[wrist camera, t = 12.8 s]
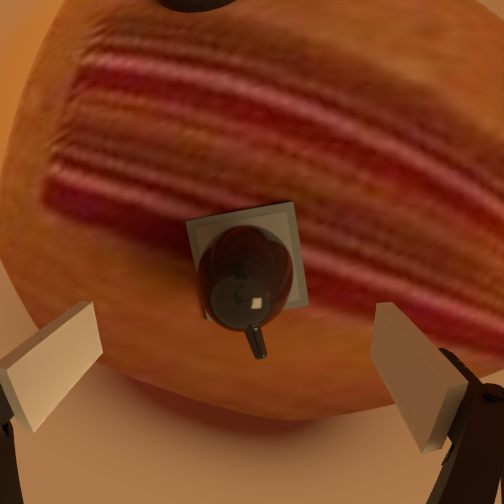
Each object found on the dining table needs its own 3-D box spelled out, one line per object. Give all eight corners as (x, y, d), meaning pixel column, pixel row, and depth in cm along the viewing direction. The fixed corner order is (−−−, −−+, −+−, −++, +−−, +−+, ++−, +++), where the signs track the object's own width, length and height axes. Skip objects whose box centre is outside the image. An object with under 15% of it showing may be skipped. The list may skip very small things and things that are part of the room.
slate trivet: (186, 220, 38) (185, 221, 38) (292, 201, 38) (293, 201, 37) (208, 319, 41) (207, 321, 40) (308, 303, 40) (309, 305, 39)
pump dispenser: (224, 315, 40) (204, 381, 25) (193, 237, 38) (152, 267, 23) (301, 289, 39) (323, 347, 24) (274, 209, 37) (282, 221, 22)
